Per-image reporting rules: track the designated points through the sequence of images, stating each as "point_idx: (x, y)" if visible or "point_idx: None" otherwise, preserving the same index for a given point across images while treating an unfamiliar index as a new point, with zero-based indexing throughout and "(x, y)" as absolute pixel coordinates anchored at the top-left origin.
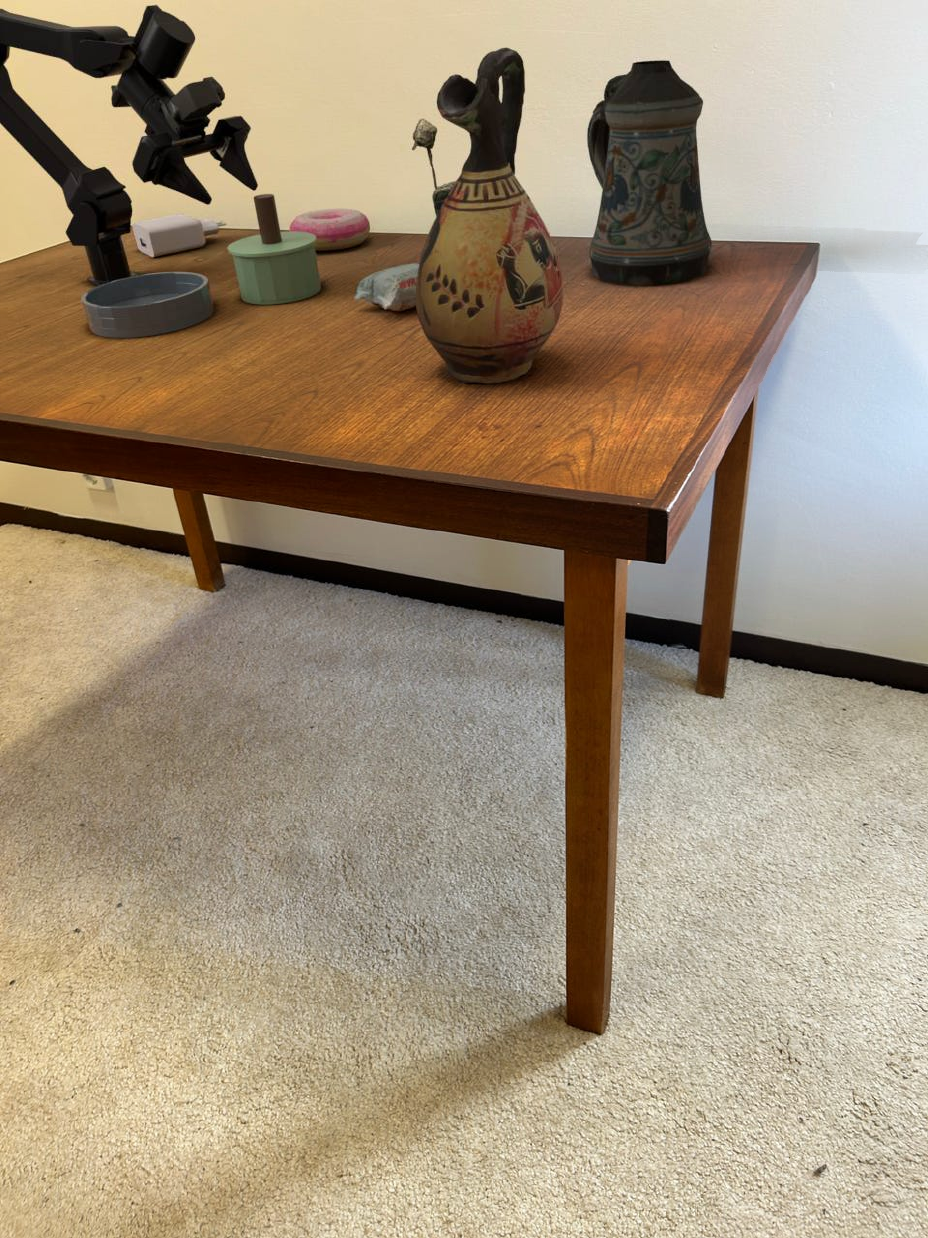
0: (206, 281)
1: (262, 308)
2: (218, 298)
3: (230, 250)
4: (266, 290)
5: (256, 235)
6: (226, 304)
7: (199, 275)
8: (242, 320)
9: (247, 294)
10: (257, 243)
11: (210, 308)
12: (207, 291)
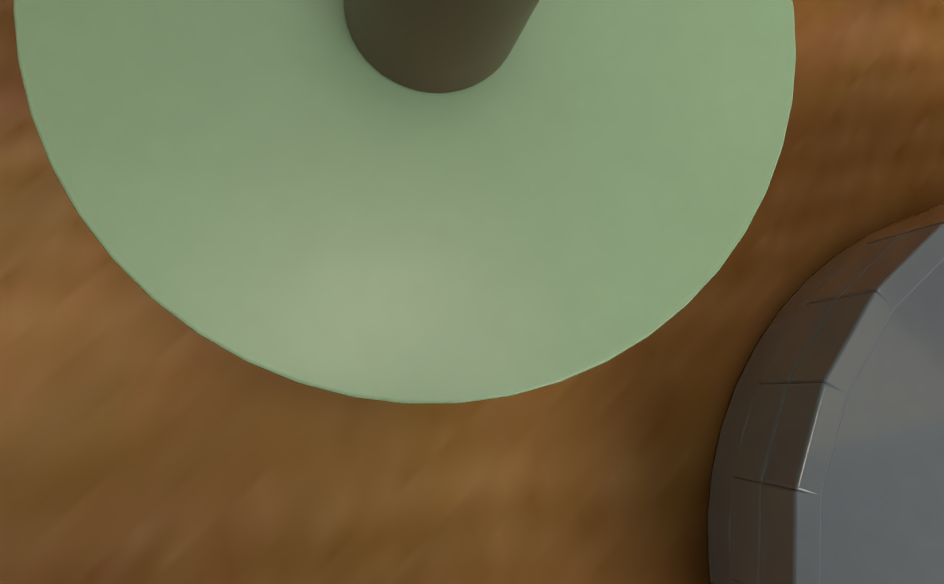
0: (911, 263)
1: None
2: (620, 454)
3: (768, 182)
4: None
5: (266, 350)
6: (689, 306)
7: (827, 439)
8: (854, 6)
9: None
10: (511, 113)
11: (872, 238)
12: (925, 223)
